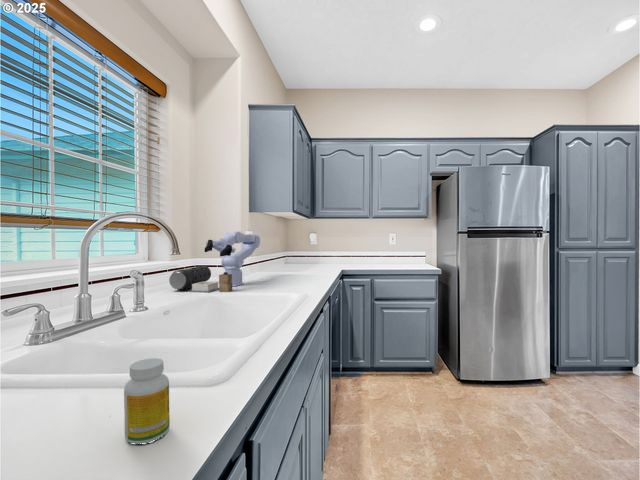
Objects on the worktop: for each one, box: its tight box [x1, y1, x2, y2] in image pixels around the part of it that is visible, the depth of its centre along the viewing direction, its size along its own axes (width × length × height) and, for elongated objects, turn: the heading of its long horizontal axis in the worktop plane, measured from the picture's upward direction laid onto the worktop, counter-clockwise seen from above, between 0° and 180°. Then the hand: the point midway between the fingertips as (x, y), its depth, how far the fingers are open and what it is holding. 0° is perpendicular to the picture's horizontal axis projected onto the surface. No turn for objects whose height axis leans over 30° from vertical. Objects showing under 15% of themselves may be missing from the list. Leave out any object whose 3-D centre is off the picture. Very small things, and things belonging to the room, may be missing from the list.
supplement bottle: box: [123, 357, 171, 444], centre depth 45 cm, size 5×5×10 cm
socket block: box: [189, 281, 219, 293], centre depth 163 cm, size 10×10×4 cm
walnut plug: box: [218, 271, 233, 293], centre depth 161 cm, size 4×4×9 cm
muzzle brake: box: [168, 265, 212, 291], centre depth 174 cm, size 10×28×10 cm, turn 174°
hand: (212, 252), depth 158 cm, fingers open, 7 cm apart
